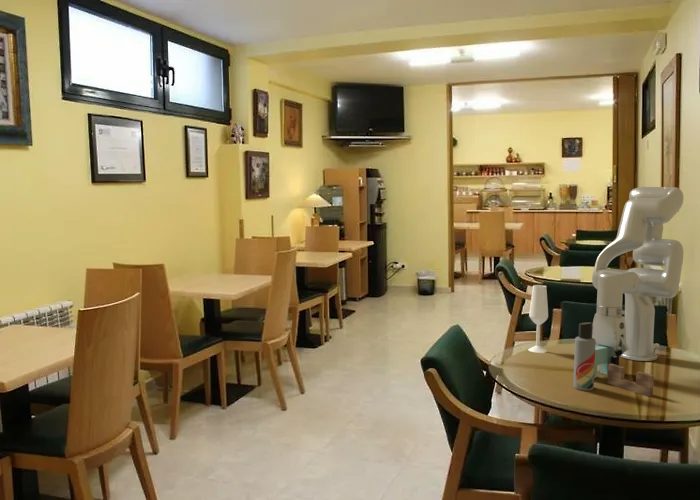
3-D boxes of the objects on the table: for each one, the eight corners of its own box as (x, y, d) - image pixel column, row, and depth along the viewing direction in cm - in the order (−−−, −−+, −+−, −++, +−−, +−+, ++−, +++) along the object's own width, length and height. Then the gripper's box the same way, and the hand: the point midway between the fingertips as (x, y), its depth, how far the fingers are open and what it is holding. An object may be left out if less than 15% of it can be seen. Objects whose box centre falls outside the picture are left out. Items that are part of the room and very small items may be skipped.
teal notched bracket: (605, 369, 205) (606, 342, 204) (621, 373, 199) (622, 346, 199) (574, 376, 197) (575, 348, 196) (590, 381, 192) (591, 353, 191)
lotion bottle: (591, 392, 182) (594, 325, 180) (571, 388, 185) (573, 323, 183) (595, 386, 187) (598, 321, 185) (575, 383, 190) (578, 319, 188)
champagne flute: (531, 347, 233) (533, 284, 230) (549, 349, 229) (551, 285, 226) (525, 351, 227) (527, 286, 225) (543, 353, 223) (545, 288, 221)
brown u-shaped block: (607, 383, 190) (608, 364, 189) (610, 382, 191) (611, 363, 190) (649, 396, 178) (650, 376, 177) (652, 395, 179) (653, 375, 178)
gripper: (640, 314, 193) (637, 371, 195) (594, 305, 207) (592, 358, 209) (625, 317, 189) (622, 375, 191) (579, 307, 204) (577, 361, 205)
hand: (606, 365), depth 200 cm, fingers open, 4 cm apart
